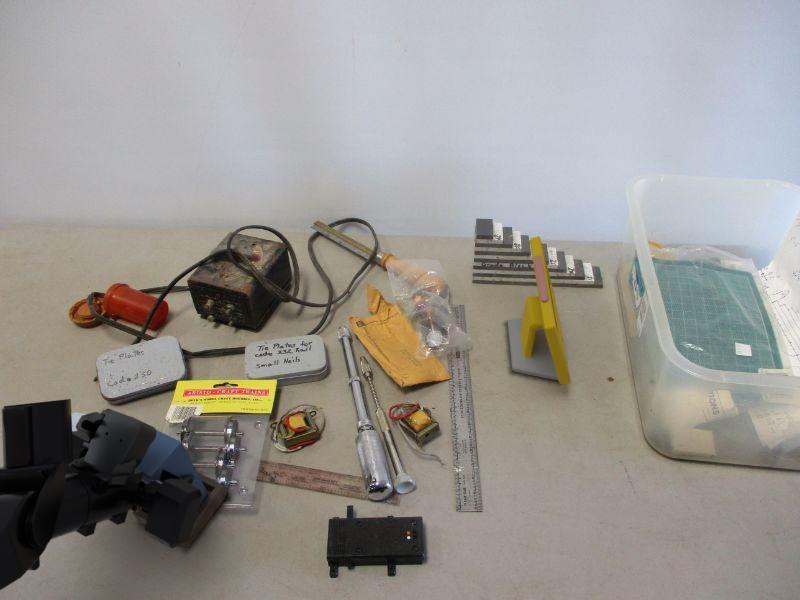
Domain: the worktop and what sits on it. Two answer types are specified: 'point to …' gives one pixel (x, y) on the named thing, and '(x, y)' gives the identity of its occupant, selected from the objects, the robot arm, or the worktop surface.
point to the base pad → (204, 512)
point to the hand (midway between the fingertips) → (175, 470)
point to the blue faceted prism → (169, 461)
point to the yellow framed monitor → (539, 329)
